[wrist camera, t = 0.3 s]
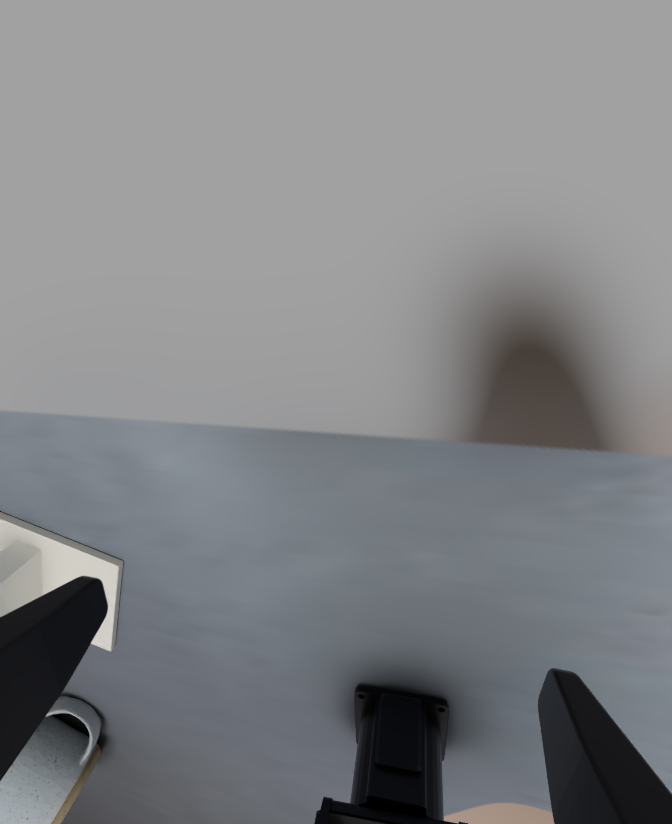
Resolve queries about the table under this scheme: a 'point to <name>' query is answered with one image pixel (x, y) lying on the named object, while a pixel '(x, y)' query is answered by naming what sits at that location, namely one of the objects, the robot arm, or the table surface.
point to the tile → (19, 576)
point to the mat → (70, 567)
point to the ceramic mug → (51, 767)
